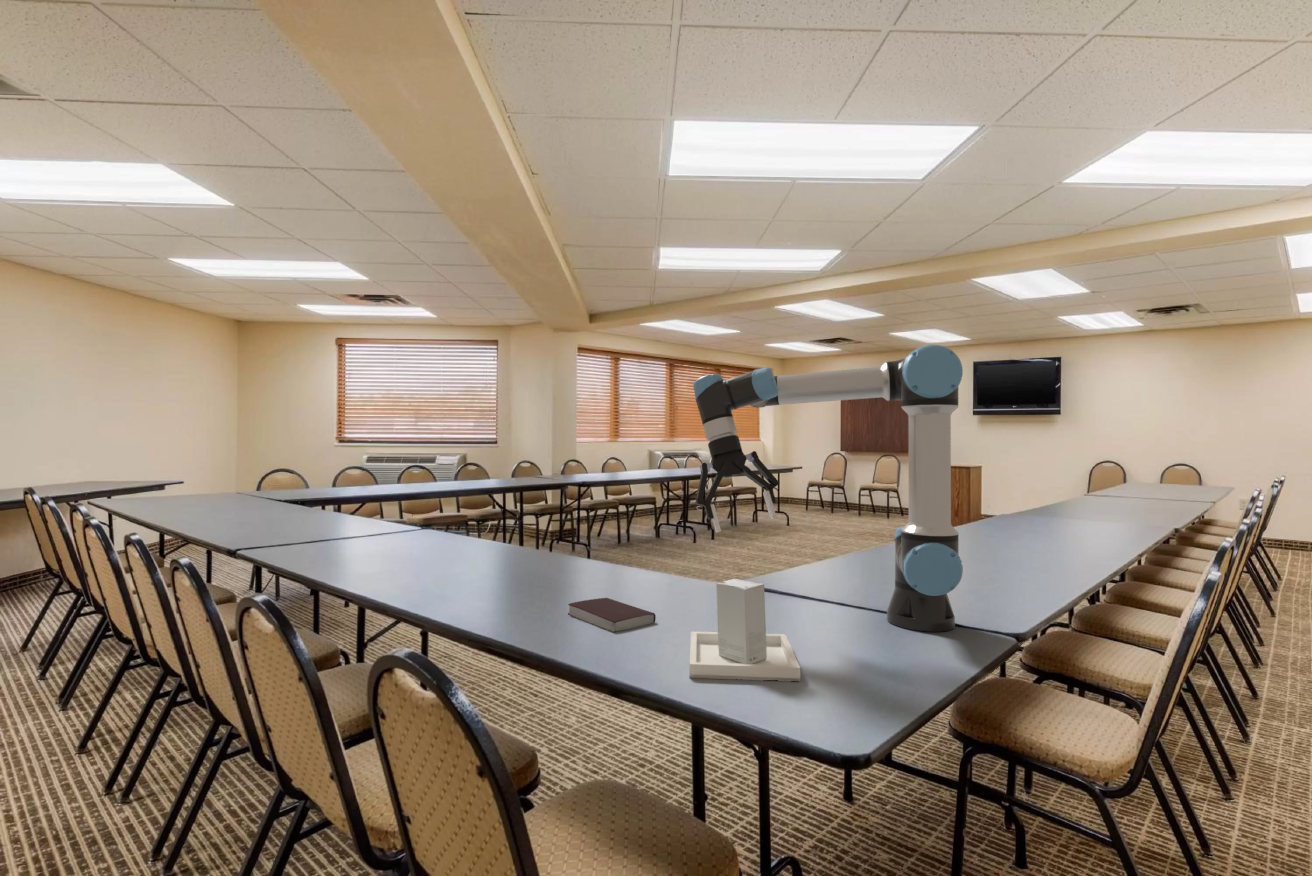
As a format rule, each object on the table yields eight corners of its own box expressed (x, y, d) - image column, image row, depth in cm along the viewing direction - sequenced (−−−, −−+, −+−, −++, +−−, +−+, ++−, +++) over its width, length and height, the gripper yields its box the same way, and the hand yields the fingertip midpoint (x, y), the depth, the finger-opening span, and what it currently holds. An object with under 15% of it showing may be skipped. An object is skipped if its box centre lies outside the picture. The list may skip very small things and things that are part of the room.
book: (607, 608, 166) (607, 595, 166) (656, 624, 151) (656, 610, 151) (567, 616, 158) (567, 603, 158) (613, 634, 143) (614, 620, 143)
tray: (785, 646, 134) (785, 634, 134) (800, 681, 115) (800, 668, 115) (690, 643, 136) (691, 631, 136) (689, 677, 116) (689, 664, 116)
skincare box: (767, 660, 124) (768, 584, 124) (745, 667, 120) (746, 588, 120) (736, 649, 130) (736, 576, 130) (715, 655, 127) (715, 580, 127)
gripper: (766, 430, 157) (790, 514, 154) (670, 452, 153) (692, 538, 150) (775, 423, 150) (801, 511, 146) (674, 446, 146) (698, 537, 142)
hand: (746, 525), depth 148 cm, fingers open, 13 cm apart
